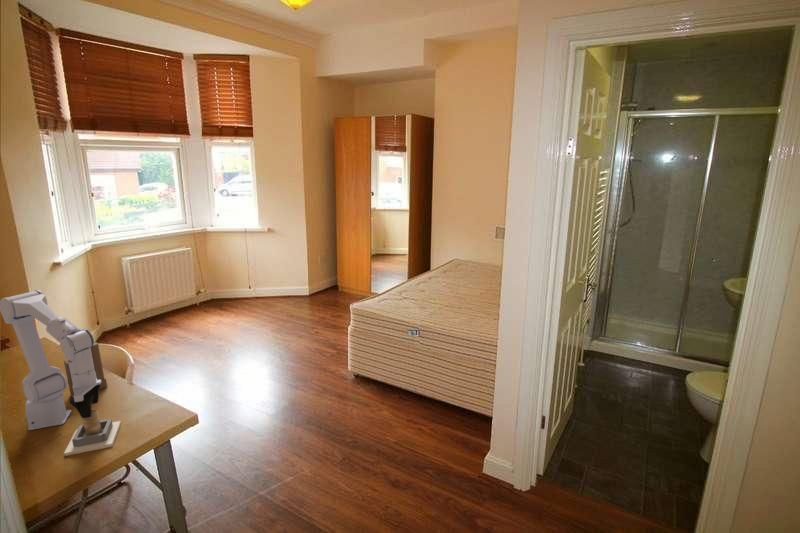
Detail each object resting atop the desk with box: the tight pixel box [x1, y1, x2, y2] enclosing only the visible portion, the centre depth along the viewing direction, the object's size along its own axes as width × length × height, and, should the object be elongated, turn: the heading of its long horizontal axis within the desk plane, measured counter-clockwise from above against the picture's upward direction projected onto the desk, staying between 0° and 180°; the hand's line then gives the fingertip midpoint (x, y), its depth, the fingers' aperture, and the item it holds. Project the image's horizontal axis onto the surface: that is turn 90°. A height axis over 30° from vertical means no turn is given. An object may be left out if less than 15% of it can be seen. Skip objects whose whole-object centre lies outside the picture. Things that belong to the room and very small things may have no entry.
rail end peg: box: [81, 409, 102, 436], centre depth 129 cm, size 4×4×8 cm
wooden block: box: [63, 341, 108, 398], centre depth 154 cm, size 4×11×18 cm, turn 139°
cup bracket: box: [63, 418, 122, 457], centre depth 130 cm, size 12×12×4 cm
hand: (90, 410), depth 129 cm, fingers open, 7 cm apart
